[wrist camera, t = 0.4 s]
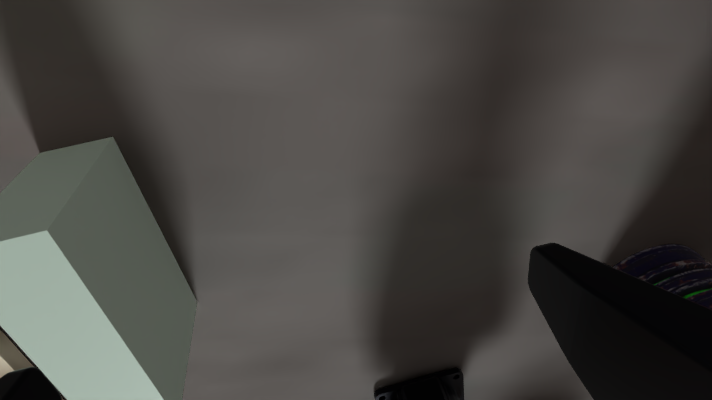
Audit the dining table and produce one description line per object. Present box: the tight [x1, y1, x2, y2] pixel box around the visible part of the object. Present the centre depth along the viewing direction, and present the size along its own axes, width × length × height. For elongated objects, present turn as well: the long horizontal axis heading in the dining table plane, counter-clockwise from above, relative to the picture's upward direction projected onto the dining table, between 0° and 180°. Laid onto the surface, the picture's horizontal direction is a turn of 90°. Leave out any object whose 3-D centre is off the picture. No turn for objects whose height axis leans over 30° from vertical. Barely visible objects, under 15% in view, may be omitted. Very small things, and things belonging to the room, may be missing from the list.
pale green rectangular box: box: [0, 137, 197, 400], centre depth 18 cm, size 10×3×7 cm, turn 9°
